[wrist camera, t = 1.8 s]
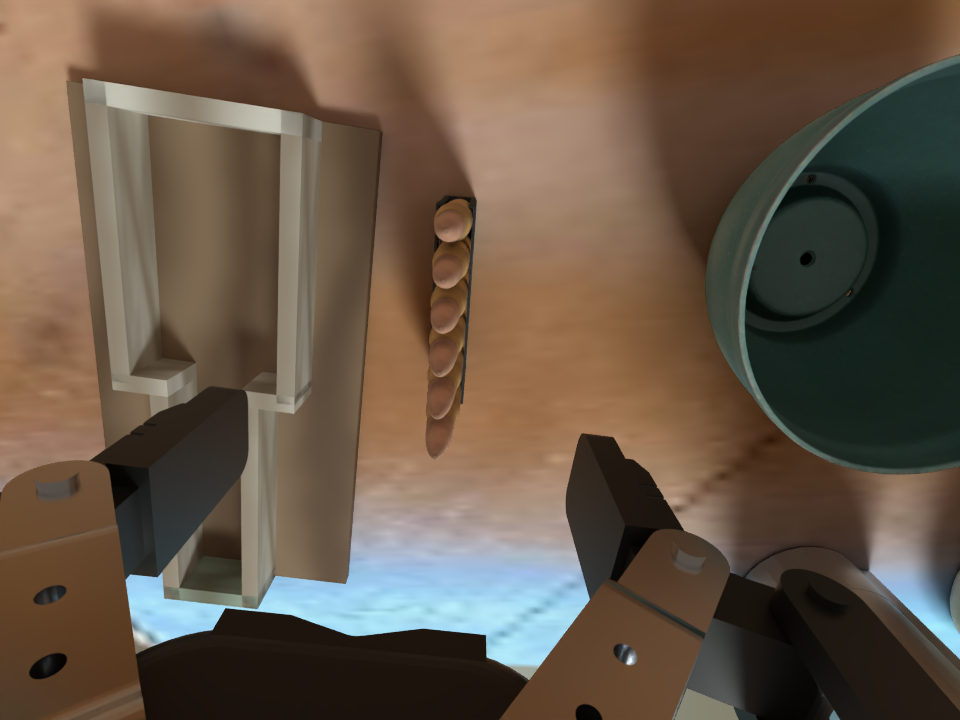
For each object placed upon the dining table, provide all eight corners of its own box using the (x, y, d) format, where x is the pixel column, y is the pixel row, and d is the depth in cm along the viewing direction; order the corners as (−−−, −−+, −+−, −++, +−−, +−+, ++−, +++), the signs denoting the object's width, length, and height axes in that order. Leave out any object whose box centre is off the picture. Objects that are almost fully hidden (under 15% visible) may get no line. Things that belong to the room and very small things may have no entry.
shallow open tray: (382, 132, 27) (367, 123, 23) (348, 575, 37) (333, 617, 33) (78, 83, 26) (14, 66, 23) (124, 549, 36) (85, 589, 32)
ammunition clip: (444, 195, 28) (419, 199, 17) (476, 198, 28) (474, 203, 17) (435, 373, 32) (410, 477, 20) (465, 375, 32) (456, 480, 20)
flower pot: (618, 360, 31) (686, 444, 21) (700, 71, 26) (843, -6, 16) (862, 401, 32) (1042, 502, 22) (988, 130, 27) (1300, 94, 17)
